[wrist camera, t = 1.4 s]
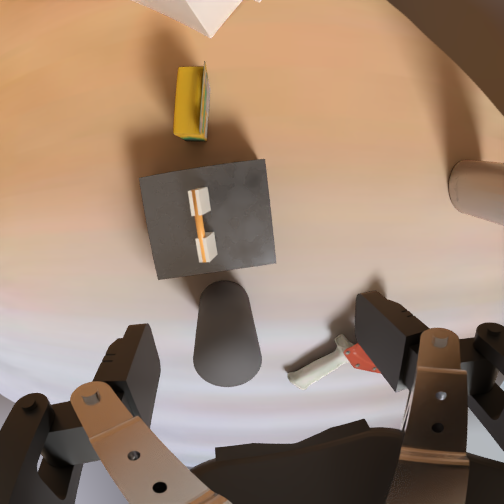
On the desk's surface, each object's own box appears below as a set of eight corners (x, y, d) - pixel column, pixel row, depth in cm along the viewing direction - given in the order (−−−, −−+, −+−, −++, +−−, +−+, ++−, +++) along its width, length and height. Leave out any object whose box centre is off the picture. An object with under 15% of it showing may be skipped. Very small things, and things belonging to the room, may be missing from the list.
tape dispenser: (282, 374, 51) (381, 382, 53) (285, 395, 46) (391, 400, 48) (312, 282, 46) (420, 301, 48) (320, 298, 41) (435, 316, 43)
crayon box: (187, 87, 36) (175, 59, 25) (210, 87, 36) (207, 59, 25) (183, 141, 38) (169, 132, 27) (207, 141, 38) (201, 132, 27)
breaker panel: (258, 159, 39) (264, 158, 34) (268, 249, 43) (276, 263, 37) (149, 176, 38) (137, 178, 33) (164, 264, 42) (156, 280, 36)
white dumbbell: (207, 186, 33) (198, 189, 31) (217, 254, 35) (209, 262, 33) (197, 188, 34) (187, 191, 31) (207, 254, 36) (199, 262, 33)
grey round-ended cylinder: (246, 277, 44) (257, 327, 30) (252, 321, 45) (265, 381, 32) (195, 284, 43) (186, 337, 30) (204, 328, 45) (200, 390, 32)
